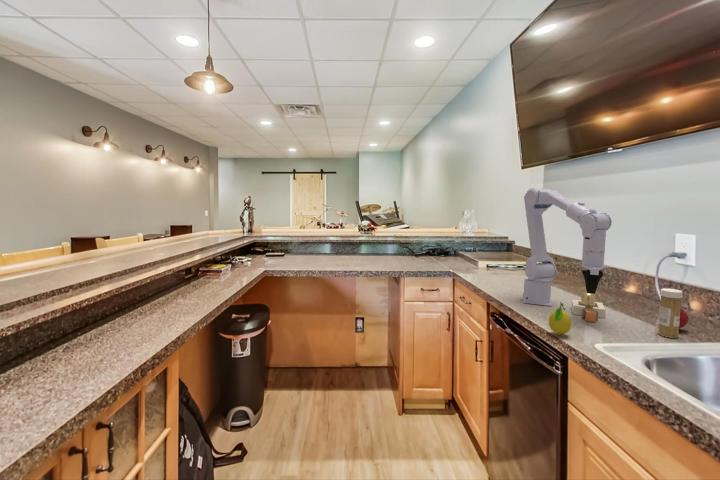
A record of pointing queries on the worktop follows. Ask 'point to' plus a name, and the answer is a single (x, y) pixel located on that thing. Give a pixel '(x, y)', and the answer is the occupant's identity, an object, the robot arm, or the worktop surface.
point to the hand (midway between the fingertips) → (590, 293)
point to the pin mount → (588, 310)
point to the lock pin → (590, 316)
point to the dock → (578, 308)
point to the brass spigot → (588, 300)
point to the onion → (683, 318)
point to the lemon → (560, 321)
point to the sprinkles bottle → (669, 312)
